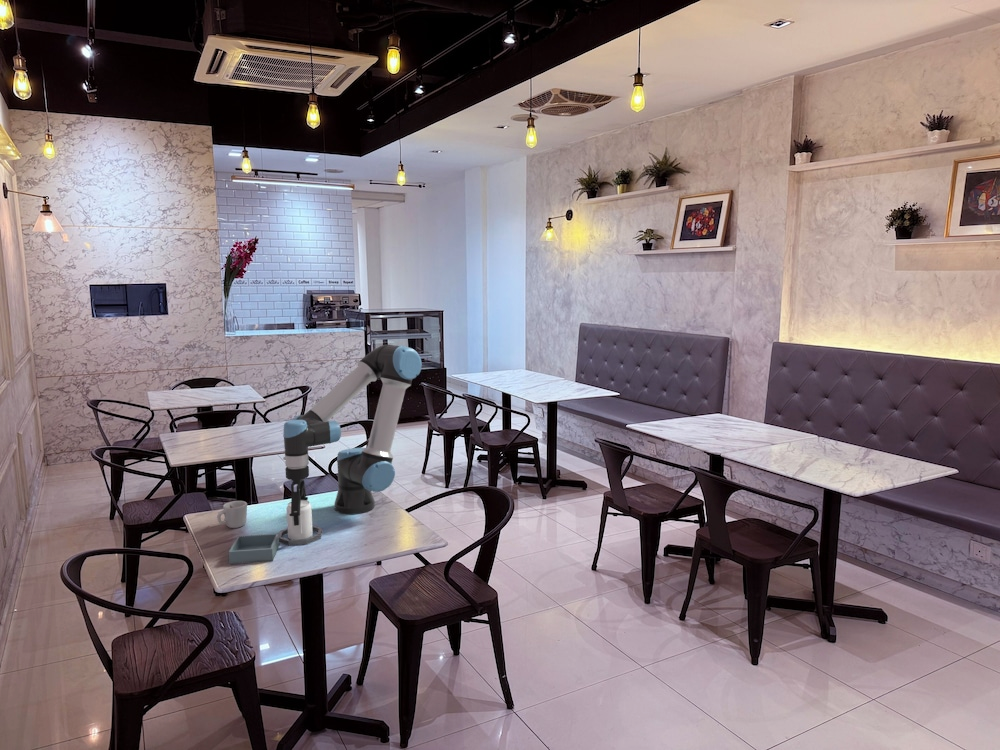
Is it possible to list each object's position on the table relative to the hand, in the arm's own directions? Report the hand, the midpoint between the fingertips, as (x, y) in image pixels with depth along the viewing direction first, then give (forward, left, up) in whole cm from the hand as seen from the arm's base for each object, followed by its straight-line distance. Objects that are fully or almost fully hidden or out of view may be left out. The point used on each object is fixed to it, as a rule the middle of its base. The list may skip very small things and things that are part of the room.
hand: (299, 526), depth 228 cm
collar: (0, 0, -4) cm, 4 cm away
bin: (+12, +12, -4) cm, 18 cm away
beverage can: (0, 0, -4) cm, 4 cm away
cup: (+25, -14, -4) cm, 29 cm away
